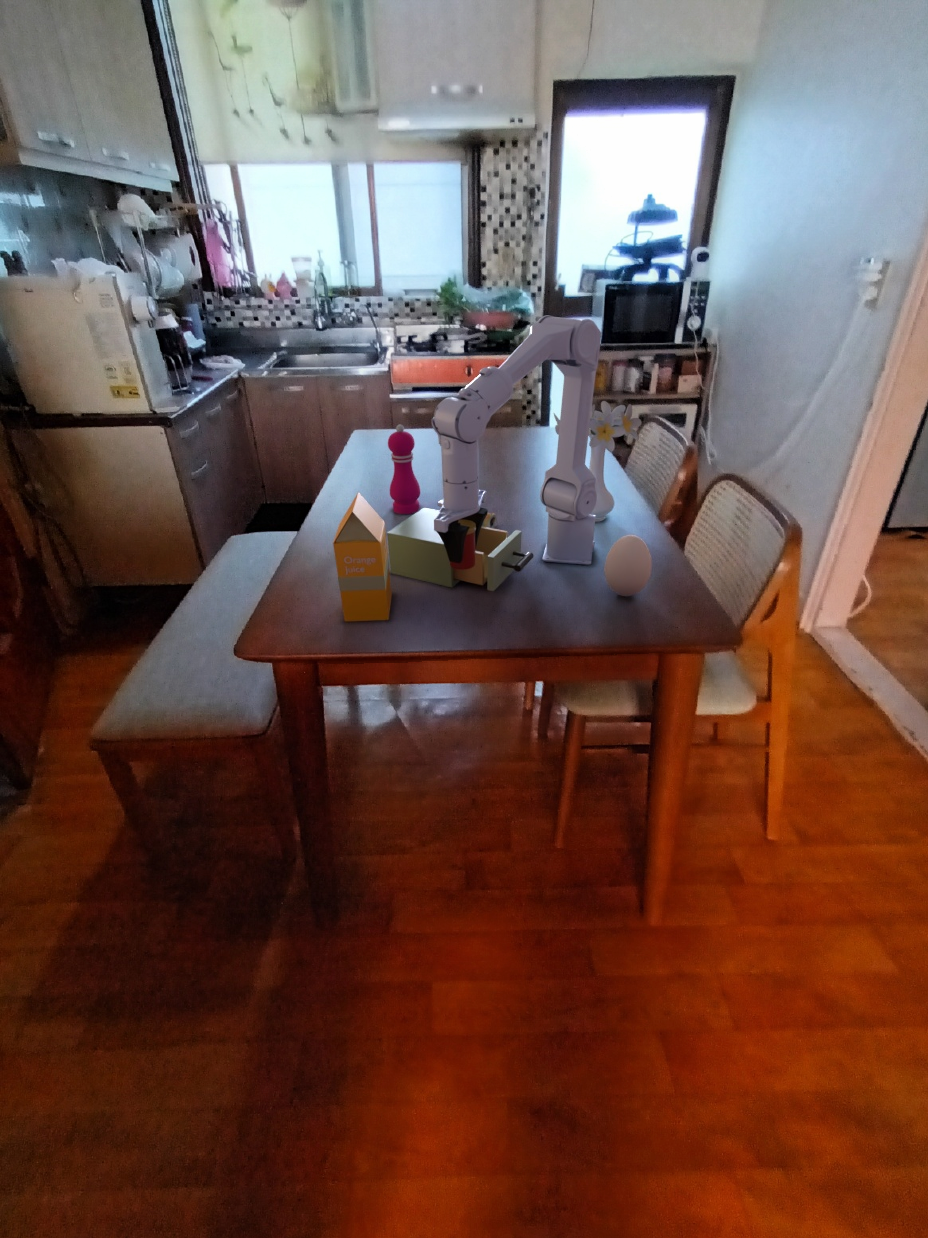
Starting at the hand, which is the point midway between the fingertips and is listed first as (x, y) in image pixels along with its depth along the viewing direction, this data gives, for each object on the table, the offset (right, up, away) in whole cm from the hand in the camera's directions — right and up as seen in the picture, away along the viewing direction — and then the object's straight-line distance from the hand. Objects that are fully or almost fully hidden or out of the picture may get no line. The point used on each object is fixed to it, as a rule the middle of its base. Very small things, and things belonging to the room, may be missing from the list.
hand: (462, 555), depth 105 cm
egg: (+29, -6, +6) cm, 31 cm away
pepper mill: (-14, +15, +43) cm, 48 cm away
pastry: (+3, +9, +33) cm, 34 cm away
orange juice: (-17, -9, +5) cm, 19 cm away
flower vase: (+29, +12, +36) cm, 48 cm away
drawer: (+5, -2, +13) cm, 14 cm away
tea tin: (0, -1, +1) cm, 2 cm away
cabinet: (-5, 0, +18) cm, 18 cm away
